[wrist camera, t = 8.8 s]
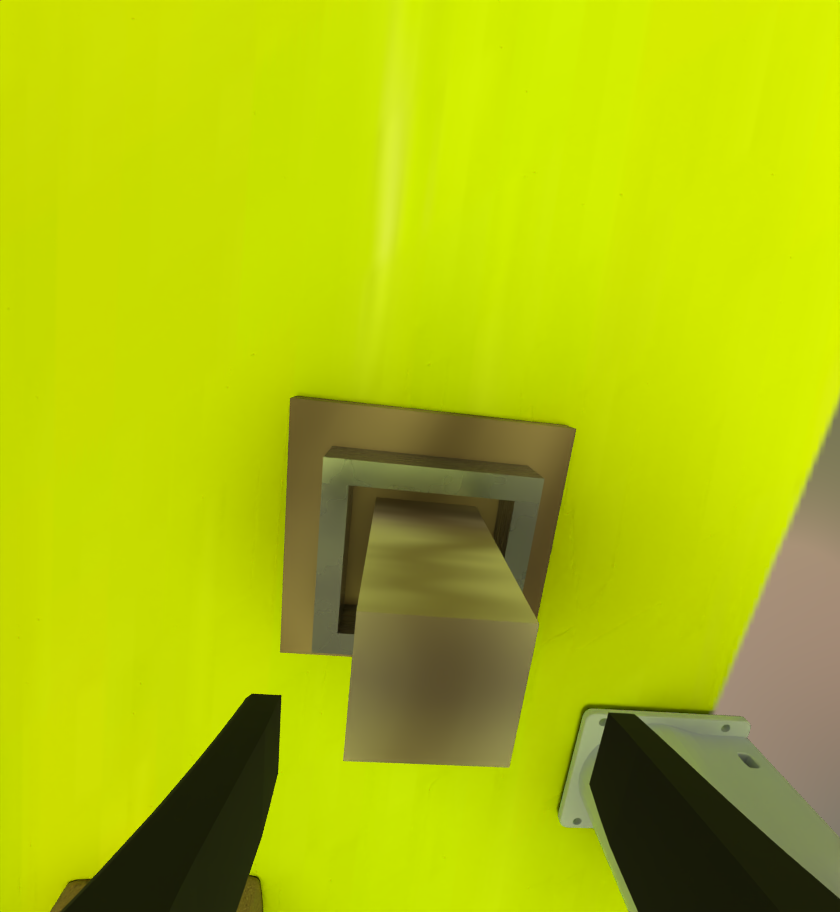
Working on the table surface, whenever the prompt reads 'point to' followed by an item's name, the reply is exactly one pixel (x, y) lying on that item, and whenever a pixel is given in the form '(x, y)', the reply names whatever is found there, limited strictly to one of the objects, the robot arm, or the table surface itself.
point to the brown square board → (411, 433)
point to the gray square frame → (417, 474)
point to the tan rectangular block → (437, 641)
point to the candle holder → (248, 908)
